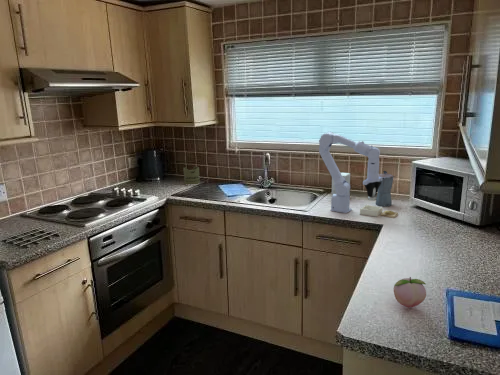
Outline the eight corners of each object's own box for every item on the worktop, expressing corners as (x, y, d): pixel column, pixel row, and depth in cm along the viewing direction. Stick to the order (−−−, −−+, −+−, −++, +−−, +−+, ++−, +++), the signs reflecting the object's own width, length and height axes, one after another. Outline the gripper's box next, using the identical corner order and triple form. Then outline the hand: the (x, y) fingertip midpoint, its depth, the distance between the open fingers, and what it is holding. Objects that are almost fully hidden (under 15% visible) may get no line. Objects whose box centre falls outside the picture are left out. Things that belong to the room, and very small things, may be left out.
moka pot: (373, 207, 217) (375, 172, 212) (375, 200, 231) (377, 167, 226) (391, 208, 214) (393, 173, 209) (392, 201, 228) (394, 168, 223)
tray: (359, 214, 206) (360, 208, 205) (365, 209, 213) (366, 204, 212) (376, 217, 201) (376, 211, 200) (382, 212, 208) (382, 207, 207)
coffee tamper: (373, 201, 202) (374, 188, 200) (366, 199, 205) (366, 187, 203) (378, 199, 205) (378, 187, 203) (370, 197, 208) (371, 186, 206)
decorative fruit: (413, 298, 122) (416, 269, 120) (429, 312, 115) (432, 281, 112) (386, 301, 121) (388, 272, 119) (400, 315, 113) (402, 284, 111)
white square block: (350, 196, 241) (350, 173, 237) (345, 199, 234) (346, 175, 230) (336, 194, 246) (336, 171, 242) (331, 198, 238) (331, 174, 235)
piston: (182, 167, 288) (197, 166, 292) (183, 183, 291) (198, 181, 295) (184, 170, 278) (200, 168, 281) (185, 186, 281) (201, 184, 284)
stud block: (380, 215, 202) (380, 212, 202) (384, 212, 208) (384, 209, 208) (394, 218, 198) (394, 214, 198) (398, 214, 204) (398, 211, 203)
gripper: (371, 173, 194) (370, 199, 197) (387, 169, 203) (386, 194, 206) (359, 171, 199) (358, 197, 203) (376, 168, 208) (375, 192, 211)
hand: (372, 195), depth 205 cm, fingers closed on coffee tamper, 3 cm apart
